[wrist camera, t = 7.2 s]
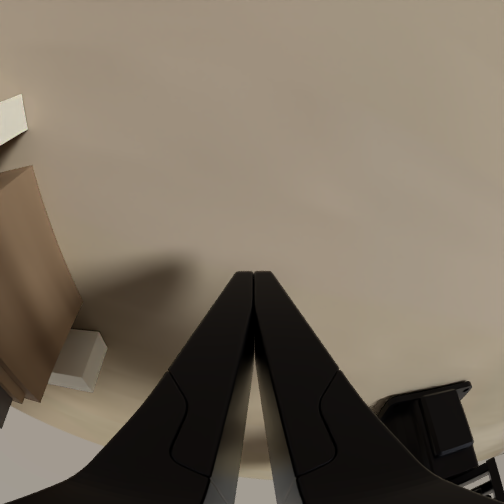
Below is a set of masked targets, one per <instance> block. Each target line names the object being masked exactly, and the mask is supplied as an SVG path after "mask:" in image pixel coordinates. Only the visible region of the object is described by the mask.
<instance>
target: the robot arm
mask: <svg viewBox="0 0 504 504" xmlns="http://www.w3.org/2000/svg"><path fill="white" fill-rule="evenodd" d="M254 340H255V362H256V370H257V377H258V383H259V390H260V397H261V404H262V410H263V417H264V424H265V430H266V437H267V443H268V450H269V456H270V463H271V469H272V475H273V482H274V488H275V494H276V501H277V504H504V490H503V487H502V483H501V479H500V475H499V472H498V469H497V465H496V462H495V458H494V457H492V458H491V459H489V460H487V461H486V463H484V464H482V465H480V466H479V465H478V461H477V458H476V454H475V451H474V447H473V443H474V440H473V437H472V434H471V430H470V427H469V424H468V421H467V418H466V415H465V412H464V410H463V407H462V404H461V399H462V398H463V397H464V396H465V395H466V394H467V393H468V392H469V391H470V389H471V388H472V385H471V383H470V381H467V382H463V383H459V384H455V385H451V386H447V387H442V388H438V389H433V390H429V391H424V392H419V393H414V394H408V395H403V396H397V397H394V398H391V399H390V400H388V401H387V403H386V404H385V406H384V407H383V408H382V410H381V411H380V413H379V414H378V416H376V415H375V414H374V413H373V411H372V410H371V409H370V408H369V407H368V406H367V404H366V403H365V402H364V401H363V400H362V398H361V397H360V396H359V394H358V393H357V392H356V390H355V389H354V388H353V386H352V385H351V384H350V382H349V381H348V379H347V378H346V377H345V375H344V374H343V372H342V371H341V370H339V367H338V365H337V364H336V363H335V361H334V360H333V358H332V357H331V355H330V354H329V353H328V351H327V350H326V348H325V347H324V346H323V344H322V343H321V341H320V340H319V338H318V337H317V336H316V334H315V333H314V331H313V330H312V328H311V327H310V326H309V324H308V323H307V321H306V320H305V319H304V317H303V316H302V314H301V313H300V311H299V310H298V309H297V307H296V306H295V304H294V303H293V302H292V300H291V299H290V297H289V296H288V294H287V293H286V292H285V290H284V289H283V287H282V286H281V285H280V283H279V282H278V280H277V279H276V277H275V276H274V275H273V273H272V272H271V271H256V272H254V274H253V272H252V271H238V272H236V273H235V274H234V276H233V277H232V278H231V280H230V281H229V283H228V284H227V286H226V287H225V288H224V290H223V291H222V293H221V294H220V296H219V297H218V298H217V300H216V301H215V303H214V304H213V306H212V307H211V308H210V310H209V311H208V313H207V314H206V316H205V317H204V319H203V320H202V321H201V323H200V324H199V326H198V327H197V329H196V330H195V331H194V333H193V334H192V336H191V337H190V339H189V340H188V341H187V343H186V344H185V346H184V347H183V349H182V350H181V352H180V353H179V354H178V356H177V357H176V359H175V360H174V362H173V363H172V364H171V366H170V367H169V369H168V371H169V372H166V373H165V374H164V376H163V377H162V379H161V380H160V381H159V383H158V384H157V386H156V387H155V388H154V390H153V391H152V392H151V394H150V395H149V396H148V398H147V399H146V400H145V402H144V403H143V404H142V405H141V407H140V408H139V409H138V410H137V411H136V412H135V414H134V415H133V416H132V417H131V418H130V419H129V420H128V422H127V423H126V424H125V425H124V426H123V427H122V428H121V429H120V430H119V431H118V433H117V434H116V435H115V436H114V437H113V438H112V439H111V440H110V441H109V442H108V443H107V444H106V446H105V447H104V448H103V449H102V450H101V451H100V452H99V453H98V454H97V455H96V456H95V457H94V458H93V460H92V461H91V462H90V463H89V464H88V465H87V466H86V467H84V468H83V469H82V470H81V471H79V472H78V473H77V474H75V475H74V476H72V477H70V478H69V479H67V480H65V481H63V482H60V483H58V484H55V485H53V486H51V487H48V488H46V489H43V490H40V491H38V492H36V493H33V494H30V495H27V496H25V497H22V498H19V499H16V500H13V501H11V502H7V503H5V504H234V502H235V495H236V488H237V481H238V475H239V468H240V461H241V454H242V447H243V440H244V432H245V425H246V418H247V411H248V403H249V396H250V388H251V381H252V373H253V365H254ZM487 475H489V478H490V481H488V482H486V483H484V484H482V485H479V486H477V487H475V488H473V489H471V490H468V489H465V488H463V487H464V486H466V485H468V484H470V483H472V482H475V481H477V480H479V479H481V478H483V477H485V476H487ZM491 493H493V495H494V498H493V499H492V498H491V496H490V495H489V494H491Z"/></svg>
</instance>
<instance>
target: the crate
mask: <svg viewBox="0 0 504 504" xmlns="http://www.w3.org/2000/svg"><path fill="white" fill-rule="evenodd" d="M82 304H83V301H82V298H81V296H80V294H79V292H78V290H77V288H76V285H75V283H74V281H73V279H72V276H71V274H70V272H69V269H68V267H67V265H66V262H65V260H64V257H63V255H62V253H61V250H60V247H59V245H58V242H57V240H56V237H55V234H54V232H53V229H52V226H51V223H50V221H49V218H48V215H47V212H46V209H45V206H44V203H43V200H42V197H41V194H40V190H39V187H38V184H37V180H36V177H35V173H34V170H33V166H32V165H31V166H27V167H22V168H18V169H14V170H9V171H5V172H1V173H0V428H2V427H3V423H4V421H5V418H6V415H7V413H8V410H9V407H10V405H11V402H12V401H15V402H18V403H21V404H22V403H23V400H24V398H26V399H29V400H32V401H36V402H41V399H42V397H43V394H44V391H45V389H46V386H47V383H48V381H49V378H50V376H51V373H52V371H53V368H54V366H55V364H56V361H57V359H58V356H59V354H60V352H61V349H62V347H63V345H64V343H65V340H66V338H67V336H68V334H69V331H70V329H71V327H72V325H73V323H74V321H75V319H76V316H77V314H78V312H79V310H80V308H81V306H82Z"/></svg>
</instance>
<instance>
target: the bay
mask: <svg viewBox="0 0 504 504" xmlns="http://www.w3.org/2000/svg"><path fill="white" fill-rule="evenodd" d="M26 130H28V128H27V123H26V118H25V112H24V107H23V100H22V94H20V95H17V96H14V97H12V98H9V99H7V100H4V101H1V102H0V145H2V144H4V143H5V142H7V141H9V140H10V139H12V138H14V137H15V136H17V135H19V134H21V133H22V132H24V131H26ZM107 349H108V348H107V346H106V344H105V342H104V340H103V338H102V337H101V335H100V333H99V332H97V331H86V330H76V329H70V331H69V334H68V336H67V338H66V340H65V343H64V345H63V347H62V349H61V352H60V354H59V356H58V359H57V361H56V364H55V366H54V368H53V371H52V373H51V376H50V378H49V381H48V384H52V385H57V386H61V387H66V388H71V389H76V390H81V391H87V392H93V391H94V388H95V385H96V382H97V379H98V375H99V372H100V369H101V366H102V363H103V360H104V357H105V354H106V351H107Z"/></svg>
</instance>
